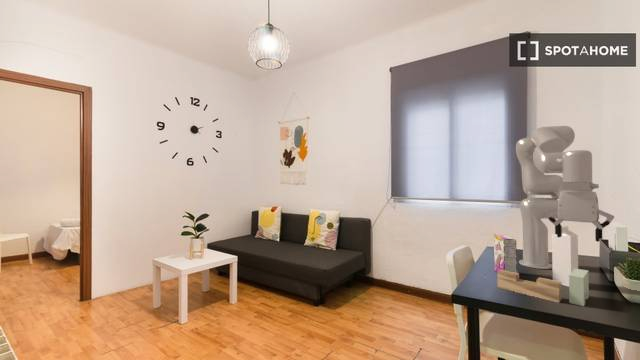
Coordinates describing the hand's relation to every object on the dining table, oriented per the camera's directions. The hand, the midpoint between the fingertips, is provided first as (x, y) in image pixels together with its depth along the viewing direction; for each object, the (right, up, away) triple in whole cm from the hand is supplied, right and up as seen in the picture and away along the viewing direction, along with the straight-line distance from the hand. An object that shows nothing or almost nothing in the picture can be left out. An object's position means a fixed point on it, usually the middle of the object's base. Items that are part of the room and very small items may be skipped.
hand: (577, 238), depth 97 cm
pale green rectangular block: (0, -20, 0) cm, 20 cm away
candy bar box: (-8, -21, +26) cm, 34 cm away
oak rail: (-13, -21, +6) cm, 25 cm away
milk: (+8, -21, +15) cm, 27 cm away
